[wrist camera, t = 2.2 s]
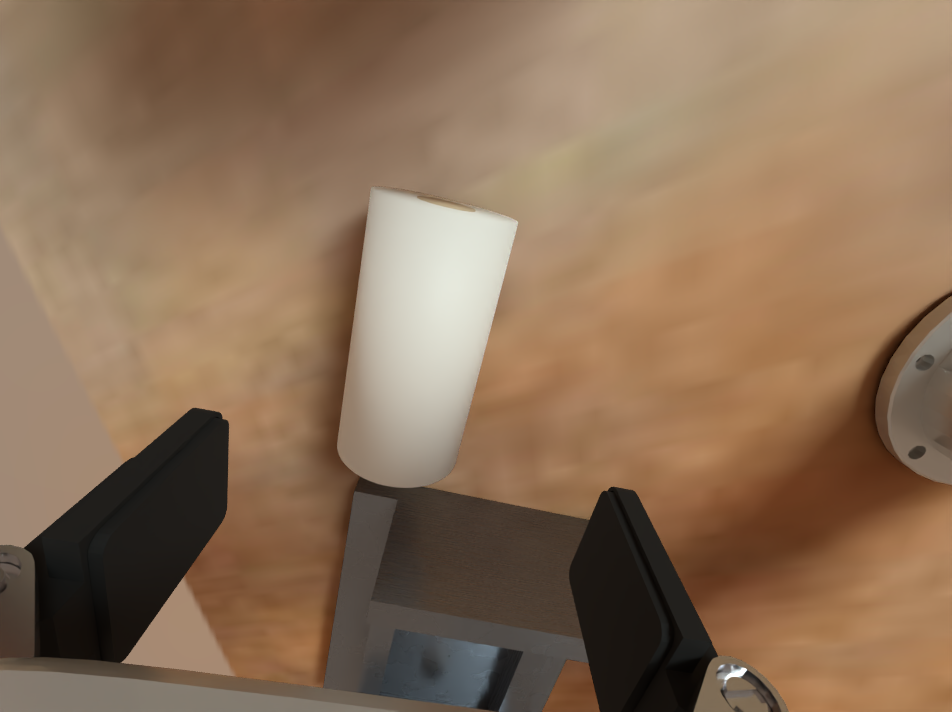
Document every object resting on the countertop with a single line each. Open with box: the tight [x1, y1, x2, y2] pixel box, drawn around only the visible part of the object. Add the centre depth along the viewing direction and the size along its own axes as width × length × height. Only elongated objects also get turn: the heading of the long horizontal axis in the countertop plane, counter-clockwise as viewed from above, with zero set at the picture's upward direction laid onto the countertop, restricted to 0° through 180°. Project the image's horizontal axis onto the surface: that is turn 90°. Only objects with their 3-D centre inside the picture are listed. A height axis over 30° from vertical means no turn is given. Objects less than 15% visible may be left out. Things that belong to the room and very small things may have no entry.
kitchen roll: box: [337, 186, 518, 488], centre depth 20 cm, size 6×12×6 cm
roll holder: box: [323, 477, 589, 712], centre depth 27 cm, size 16×19×8 cm
